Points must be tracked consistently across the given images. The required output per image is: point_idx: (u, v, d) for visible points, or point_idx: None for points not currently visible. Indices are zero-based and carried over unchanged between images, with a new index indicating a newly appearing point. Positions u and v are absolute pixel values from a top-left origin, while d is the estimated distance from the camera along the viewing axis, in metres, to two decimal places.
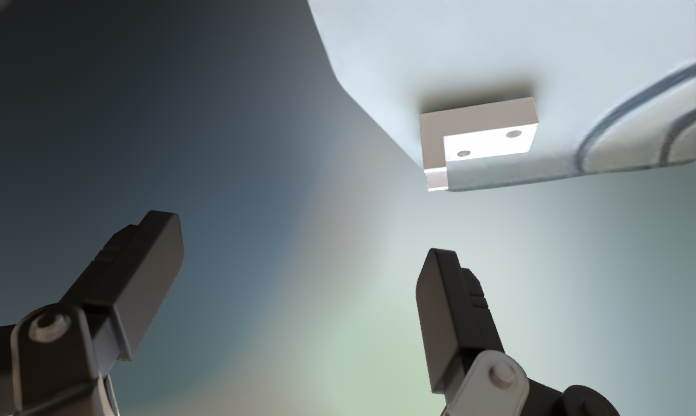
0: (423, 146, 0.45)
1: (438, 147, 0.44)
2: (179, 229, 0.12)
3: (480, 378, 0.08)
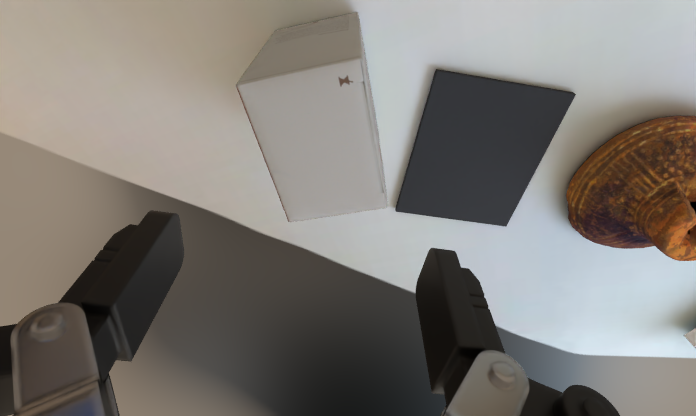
0: None
1: None
2: (179, 229, 0.12)
3: (480, 378, 0.08)
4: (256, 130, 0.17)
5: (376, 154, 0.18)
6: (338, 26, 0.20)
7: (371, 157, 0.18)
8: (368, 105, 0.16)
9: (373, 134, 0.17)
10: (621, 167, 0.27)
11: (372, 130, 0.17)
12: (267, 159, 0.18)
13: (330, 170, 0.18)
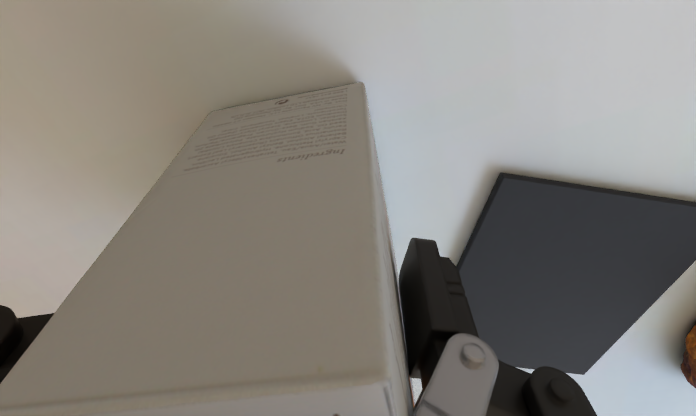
0: None
1: None
2: None
3: (452, 361, 0.08)
4: None
5: None
6: (323, 131, 0.10)
7: None
8: None
9: None
10: None
11: None
12: None
13: None
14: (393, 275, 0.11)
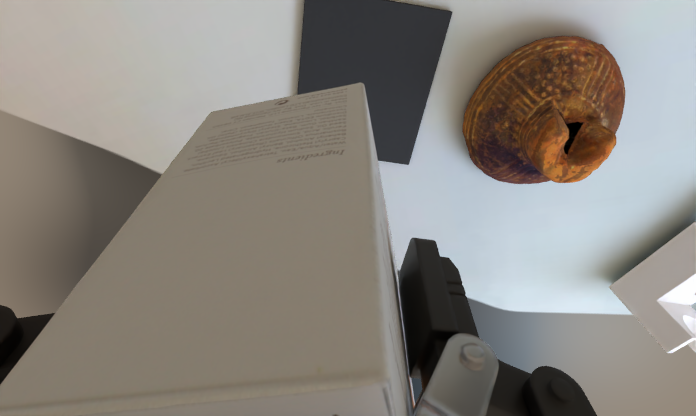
0: (643, 322, 0.37)
1: (660, 316, 0.36)
2: None
3: (452, 362, 0.08)
4: None
5: None
6: (323, 132, 0.10)
7: None
8: None
9: None
10: (502, 90, 0.26)
11: None
12: None
13: None
14: None
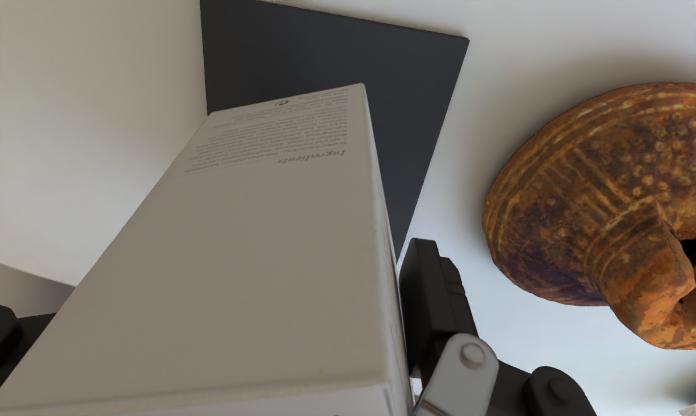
0: None
1: None
2: None
3: (452, 362, 0.08)
4: None
5: None
6: (324, 132, 0.10)
7: None
8: None
9: None
10: (557, 176, 0.15)
11: None
12: None
13: None
14: (393, 276, 0.11)
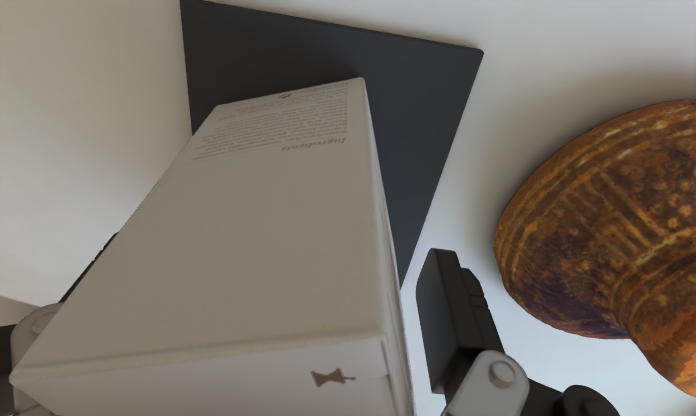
0: None
1: None
2: None
3: (480, 378, 0.08)
4: None
5: None
6: (325, 122, 0.10)
7: None
8: (398, 406, 0.06)
9: None
10: (581, 203, 0.13)
11: None
12: None
13: None
14: None
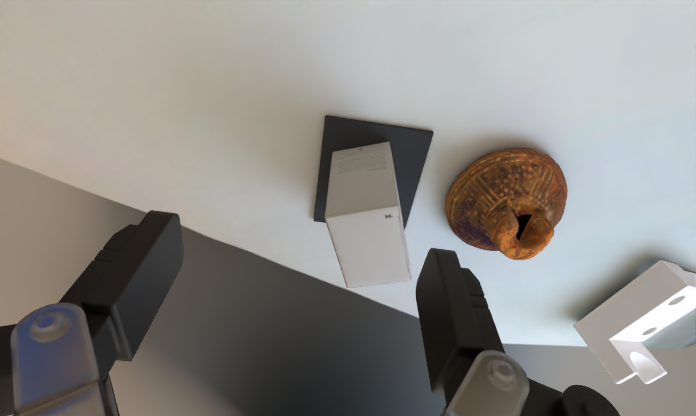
0: (598, 357, 0.45)
1: (611, 353, 0.44)
2: (179, 229, 0.12)
3: (480, 378, 0.08)
4: (333, 239, 0.28)
5: (405, 251, 0.29)
6: (378, 161, 0.32)
7: (402, 253, 0.29)
8: (401, 227, 0.28)
9: (403, 241, 0.28)
10: (472, 188, 0.35)
11: (403, 239, 0.28)
12: (338, 254, 0.29)
13: (376, 260, 0.29)
14: None
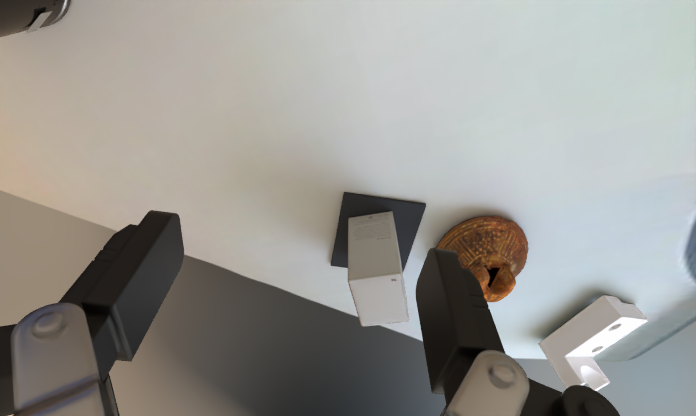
0: (556, 370, 0.56)
1: (566, 367, 0.55)
2: (179, 229, 0.12)
3: (480, 378, 0.08)
4: (353, 294, 0.39)
5: (405, 302, 0.40)
6: (385, 230, 0.42)
7: (403, 303, 0.40)
8: (402, 286, 0.38)
9: (404, 295, 0.39)
10: (455, 246, 0.46)
11: (404, 294, 0.39)
12: (356, 304, 0.40)
13: (384, 308, 0.40)
14: None
